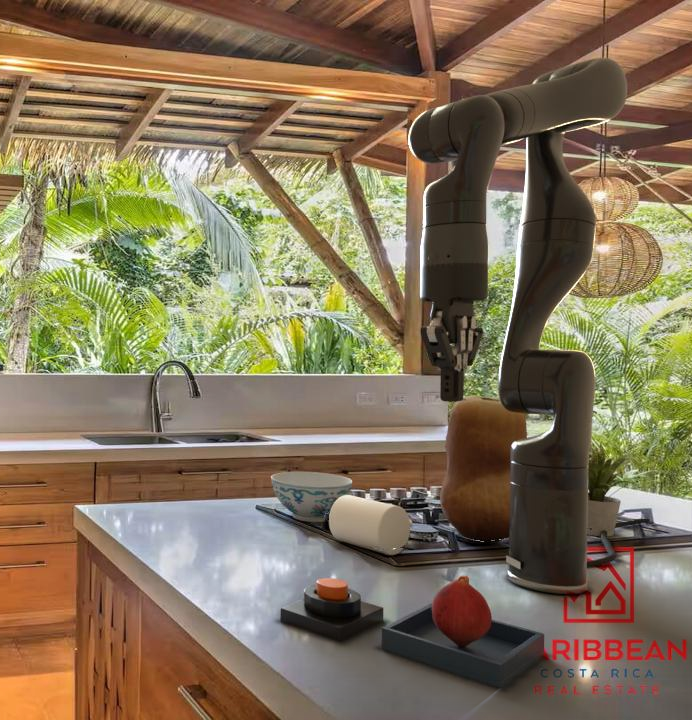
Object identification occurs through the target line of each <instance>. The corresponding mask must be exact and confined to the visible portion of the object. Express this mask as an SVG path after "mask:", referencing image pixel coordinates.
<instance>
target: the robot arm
mask: <svg viewBox="0 0 692 720" xmlns="http://www.w3.org/2000/svg"><path fill="white" fill-rule="evenodd" d="M627 97H628V82H627V77H626V74H625V72H624V70H623V67H621V65H620V63H618V62H617V61H615V60H613V59H612V58H608V57H595V58H591V59H586V60H582V61H580V62H576V63H573V64H570V65H566V66H563V67H561V68H558V69H554V70H551V71H548V72H546V73H543V74H541V75H539V76H537V78H535V79H534V81H533V82H532V83H530V84H524V85H519V86H515V87H511V88H510V87H509V88H504V89H501V90H497V91H494V92H489V93H487V94H480V95H473V96H470V97H466V98H463V99H460V100H456V101H453V102H450V103H447V104H442V105H439V106H435V107H433V108H429V109H427V110H425V111H423V112H422V113H421V114H419V115H418V116H417V117H416V118H415V119H414V121H413V122H412V124H411V126H410V128H409V130H408V131H409V132H408V136H407V137H408V138H407V140H408V141H407V142H408V145H409V146H408V147H409V150H410V152H411V153H412V154H413V156H414V157H415V158H416V159H418V161H420V162H422V163H424V164H427V165H441V164H446V163H450V162H454V161H455V164H454V166H453V168H452V169H451V170H450V172H449V173H448V174H446V175H444V176H442V177H441V178H438V179H436V180H434V181H433V182H431V183H429V184H428V185H426V187H425V189H424V191H423V201H422V204H423V205H422V208H423V209H422V210H423V211H422V236H421V241H420V269H419V271H420V272H419V273H420V275H419V276H420V277H419V299H420V300H421V301H422V302H424V303H432V305H431V311H430V318H429V319H430V320H429V321H430V324H429V325H428V326H427V325H423V326H421V327H420V332H419V333H420V337H421V338H422V342H423V345H424V347H425V350H426V353H427V357H428V359H429V362H430V364H431V366H432V367H437V371H438V372H440V385H439V387H440V392H439V393H440V395H439V396H440V397H439V398H440V400H441V401H442V402H449V403H456V402H458V401H462V400H463V397H465V396H464V395H465V394H464V391H465V389H464V387H465V386H464V385H465V372H467V370H468V367H473V365H474V361H475V359H476V355H477V353H478V349H479V346H480V344H481V340H482V338H483V335H484V329H483V327H482V326H479V327H478V326H476V325H477V323H476V322H477V321H476V320H477V319H476V314H475V310H474V309H475V308H474V302H481V301H485V300H486V299H487V298H488V297H489V237H488V231H487V229H488V228H487V210H488V209H487V205H488V204H487V201H488V200H487V197H488V196H487V195H488V190H489V185H490V182H491V179H492V176H493V173H494V169H495V166H496V163H497V158H498V156H499V154H500V153H499V152H500V150H501V147H504V146H507V145H510V144H513V143H517V142H519V141H521V140H524V139H526V140H525V142H526V143H525V145H526V147H525V150H526V151H525V152H526V153H525V176H524V189H523V198H522V205H521V215H520V222H519V225H518V226H519V227H518V234H517V235H518V236H517V244H516V258H515V259H516V260H515V272H514V273H515V274H514V282H513V291H512V292H513V293H512V299H511V301H512V302H511V307H510V313H509V319H508V323H507V327H506V332H505V338H504V343H503V346H502V347H503V348H502V350H501V351H502V352H501V356H500V362H499V367H498V378H497V391H498V398H500V401H501V403H502V405H503V406H504V408H505V409H507V410H508V411H511V412H516V413H525V414H527V415H528V414H529V415H541V416H553V419H552V424H551V426H550V428H549V429H547V430H546V431H544V432H542V433H539V434H537V435H533V436H529V437H528V436H527V438H523V439H519V440H516V441H514V442H513V443H512V445H511V450H510V460H511V461H510V528H509V537H508V555H505V562H506V563H507V564H508V569H507V579H508V580H509V581H510V582H512V583H513V584H515V585H518V586H520V587H523V588H525V589H529V590H534V591H538V592H543V593H549V594H558V595H577V594H583V593H586V592H587V591H588V580H587V575H588V573H587V570H588V568H593V567H599V566H603V565H607V564H609V563H612V562H614V561H615V559H617V553H616V551H615V550H614V548H613V546H612V544H611V542H610V540H609V538H608V536H607V531H605V530H604V531H602V532H601V536H600V540H601V543H602V544H603V546H604V548H605V550H606V552H607V554H608V555H606V556H604V557H601V558H597V559H593V560H588V534H587V528H588V492H589V490H588V465H589V460H590V459H589V458H590V451H591V448H590V445H591V446H592V434H593V433H592V432H593V417H594V416H593V415H594V406H595V405H594V404H595V395H596V371H595V366H594V363H593V361H592V358H591V357H590V356H589V355H588V354H587V353H586V352H584V351H581V350H573V349H572V350H571V349H540V346H541V341H542V337H543V335H544V331H545V328H546V326H547V324H548V321H549V320H550V317H551V316H552V314H553V313H554V312H555V310H556V309H557V307H558V306H559V305H560V303H562V301H563V300H564V299H565V298H566V297H567V296H568V295H569V293H570V292H571V291H572V290H573V288H574V287H575V286H576V285H577V283H578V282H579V281H580V280H581V279H582V277H584V274H585V273H586V271H587V270H588V268H589V267H590V265H591V262H592V260H593V257H594V249H595V238H596V228H597V214H596V211H595V208H594V206H593V204H592V201H591V200H590V199H589V197H588V196H587V194H586V193H585V192H584V190H583V189H582V188H581V186H580V185H579V184H578V182H577V181H576V180H575V179H574V177H573V175H572V174H571V172H570V171H569V170H568V168H567V166H566V163H565V160H564V153H563V143H564V142H563V141H564V136H565V134H566V133H568V132H569V133H570V132H574V131H578V130H582V129H586V128H590V127H595V126H597V125H600V124H604V123H606V122H609V121H610V120H612V119H614V118H615V117H617V116H618V115H619V114H620V113H621V112H622V110H623V108H624V106H625V104H626V101H627ZM642 518H643V517H642ZM642 518H641V517H640V518H634V519H633V518H632V519H631V520H634V521H628V522H623V523H622V522H620V521H616V525H615V529H618V528H622V527H626V526H630V525H639V524H647V523H650V519H642ZM604 540H605V541H604Z"/></svg>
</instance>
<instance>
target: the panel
mask: <svg viewBox="0 0 692 720" xmlns="http://www.w3.org/2000/svg"><path fill="white" fill-rule="evenodd" d="M303 591H304V592H303V599H300V600H297V601H295V602H292V603H290V604H288V605H286V606H283V607H281V608H280V622H281V623H284V624H287V625H289V626H292V627H295V628H299V629H302V630H305V631H307V632H310V633H313V634H316V635H319V636H322V637H325V638H328V639H331V640H333V641H336V642H339V643H341V642H343V641H346V640H347V639H350V638H351V637H353V636H354V637H355V635H358V634H359V633H362V632H364V631H366V630H368V629H369V628H370V629H371V627H374V626H376V625H377V624H380V623H382V622H384V607H383V606H379V605H376V604H372V603H370V602H367V601H362V599H361V598H362V597H361V596H362V595H361V594H360V593H359V592H357V591H356V590H354V589H352V588H348V598H347V599H339V600H337V599H328V598H324V597H320V596H318V595H317V584H312V585H309V586H307V587H305V588H304V590H303Z"/></svg>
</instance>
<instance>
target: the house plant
mask: <svg viewBox="0 0 692 720" xmlns="http://www.w3.org/2000/svg"><path fill="white" fill-rule="evenodd" d="M590 451H591V457H590V459H589V465H588V526H589V527H591V528H592V530H590V529H587V536H589V535H590V536H595V537H601V532H602V531H604V530H605V531H607V537H613V536H614V534H615V530H616V528H615V525H616V522H618V521H617V520H618V516H619V511H620V508H621V503H622V501H621V499H620V498H616V497H613V496H612V495H614V494H615V493H616V492H618V491H620V490H621V489H623V488H624V487H626V486H627V485H629V484H633V485H635V486H637V487H639V485H638V484H637V483H635V482H645V480H642V479H636V480H632V481H627V480H619V479H616V478H617V477H618V476H619V475H622V474H623V472H621V471H623V470H624V469H625V468H627V467H630V466H634V465H635V466H636V465H637V466H638V465H640V466H641V465H642V464H641V463H629V464H627V465H625V466H624V467H622V468H621V469H620V470H619V471H618V472H617V473H615V472H616V471H617V470H618V469H619V468H620V467H621V466H622V465H623V464H625V463H626V462H628V461H630V460H632V459H637V458H642V457H644V458H645V457H647V458H648V455H635V456H631V455H634V454H635V452H632V453H627V454H623V455H620V456H619V457H614V458H613V457H611V458H608V459H606V453H605V449H604V446H603V445H602V444H601V443H599V450H597V448H595V449H594V448H593V446H592V444H591V445H590ZM629 456H631V457H629ZM627 457H629V458H627ZM614 459H615V460H614ZM613 460H614V461H613ZM621 483H626V484H624V485H623V486H621V487H619V488H618V489H617V490H616V491H614V492H613V493H612V494H610V495H609V496H607V494H608V492H609V491H610V490H611V488H614V487H616V486H617V485H618V484H621Z"/></svg>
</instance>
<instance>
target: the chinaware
mask: <svg viewBox="0 0 692 720" xmlns="http://www.w3.org/2000/svg"><path fill="white" fill-rule="evenodd" d="M270 479H271V485H272V488H273V491H274V493H275V494H274V495H275V496H276V497H277V499H278V501H279V502H280V503H281V505H282V506H283V507H284V508H286V509H287V510H288V511H289V512H291V513H292V518H293V519H295V520H297V521H298V520H299V521H302V522H309V523H322V522H325V521H324V520H325V517H324V515H325V513H328V512H330V511H331V508H332V506H333V504H334V503H335V501H336V500H337V499H338V498H340V497H341V496H344V495H351V494H350V493H351V491H352V488H353V480H352V479H351V478H349V477H346V476H343V475H340V474H333V473H327V472H315V471H283V472H278V473H274V474H272V475H271V476H270Z"/></svg>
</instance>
